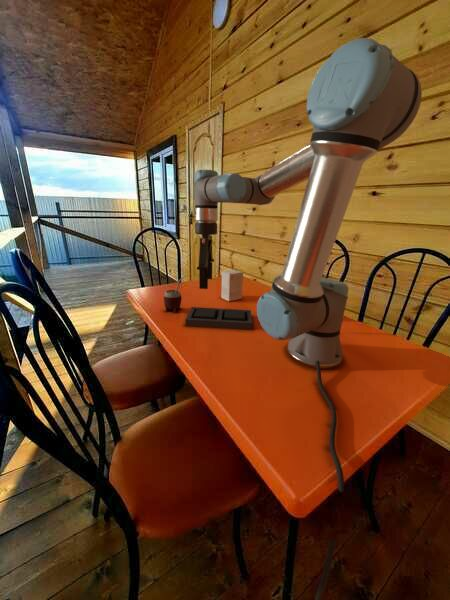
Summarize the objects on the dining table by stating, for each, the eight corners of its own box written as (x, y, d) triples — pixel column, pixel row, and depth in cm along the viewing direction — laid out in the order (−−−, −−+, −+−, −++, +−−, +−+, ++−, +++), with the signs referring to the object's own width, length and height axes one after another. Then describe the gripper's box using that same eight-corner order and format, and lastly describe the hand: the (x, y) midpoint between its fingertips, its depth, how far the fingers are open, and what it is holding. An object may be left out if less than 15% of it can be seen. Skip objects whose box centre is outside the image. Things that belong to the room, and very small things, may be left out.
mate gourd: (162, 308, 106) (160, 273, 101) (180, 305, 110) (179, 271, 105) (167, 314, 100) (166, 277, 95) (186, 311, 104) (186, 275, 99)
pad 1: (213, 324, 93) (214, 316, 92) (193, 323, 93) (193, 315, 92) (215, 316, 100) (215, 309, 99) (196, 315, 100) (196, 308, 99)
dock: (251, 329, 90) (252, 323, 89) (185, 325, 91) (185, 319, 90) (250, 315, 102) (250, 310, 101) (191, 312, 103) (191, 306, 102)
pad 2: (244, 325, 93) (244, 318, 92) (223, 324, 93) (224, 317, 92) (243, 317, 100) (244, 310, 99) (224, 316, 100) (225, 309, 99)
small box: (233, 295, 126) (235, 269, 122) (242, 298, 122) (243, 272, 117) (220, 297, 122) (221, 271, 117) (228, 301, 117) (230, 274, 113)
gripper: (200, 220, 97) (200, 275, 104) (187, 222, 73) (189, 293, 80) (220, 221, 97) (219, 276, 103) (213, 223, 73) (213, 293, 80)
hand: (206, 283), depth 92 cm, fingers open, 13 cm apart
